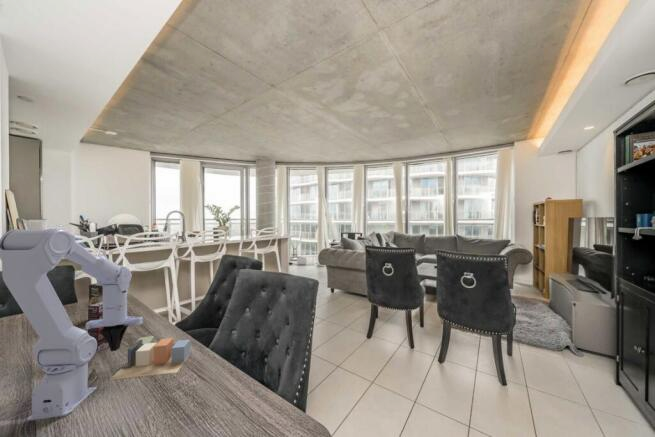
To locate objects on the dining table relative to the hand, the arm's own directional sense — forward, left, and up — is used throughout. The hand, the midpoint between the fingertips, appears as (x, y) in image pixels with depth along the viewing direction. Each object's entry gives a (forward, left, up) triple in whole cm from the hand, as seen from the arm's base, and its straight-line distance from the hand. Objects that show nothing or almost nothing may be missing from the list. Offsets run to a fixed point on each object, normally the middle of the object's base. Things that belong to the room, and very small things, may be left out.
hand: (115, 349), depth 77 cm
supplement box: (+15, +12, -5) cm, 20 cm away
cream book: (0, -9, -5) cm, 10 cm away
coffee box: (+46, +32, -5) cm, 56 cm away
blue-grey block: (0, -19, -5) cm, 19 cm away
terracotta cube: (0, -14, -5) cm, 15 cm away
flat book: (+14, -1, -6) cm, 15 cm away
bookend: (0, -5, -4) cm, 7 cm away
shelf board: (-3, -12, -5) cm, 13 cm away
